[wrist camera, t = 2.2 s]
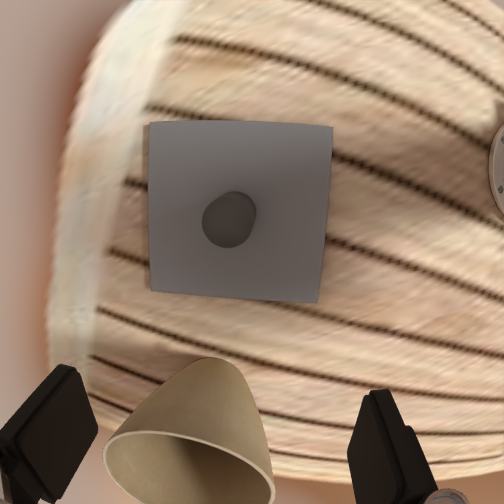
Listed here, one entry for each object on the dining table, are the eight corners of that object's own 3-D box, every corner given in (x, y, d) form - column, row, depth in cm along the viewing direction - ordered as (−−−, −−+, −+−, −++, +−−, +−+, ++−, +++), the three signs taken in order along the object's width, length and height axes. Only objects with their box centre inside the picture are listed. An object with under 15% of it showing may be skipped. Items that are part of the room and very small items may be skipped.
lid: (155, 123, 29) (127, 116, 23) (330, 128, 29) (344, 120, 22) (156, 285, 34) (133, 311, 28) (315, 297, 33) (323, 327, 27)
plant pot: (303, 376, 35) (313, 489, 20) (227, 437, 39) (209, 534, 24) (198, 301, 34) (146, 401, 18) (134, 378, 37) (81, 468, 22)
